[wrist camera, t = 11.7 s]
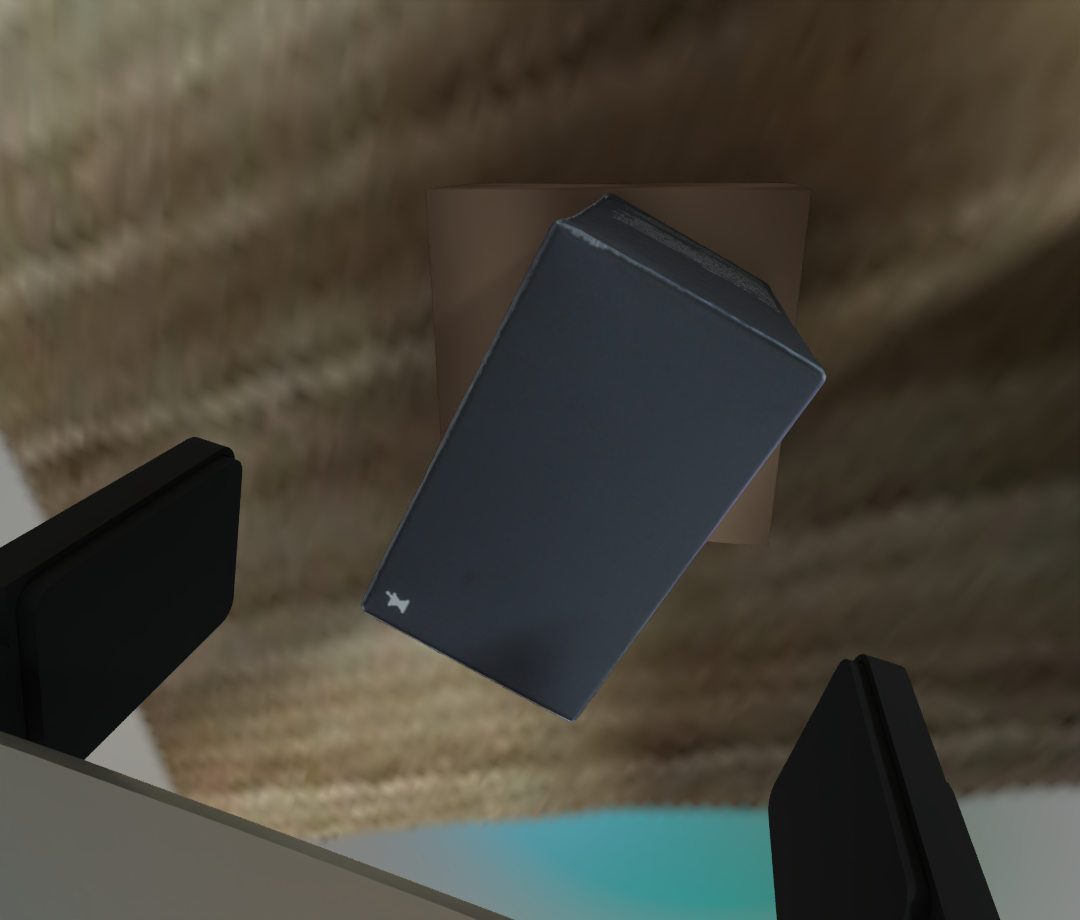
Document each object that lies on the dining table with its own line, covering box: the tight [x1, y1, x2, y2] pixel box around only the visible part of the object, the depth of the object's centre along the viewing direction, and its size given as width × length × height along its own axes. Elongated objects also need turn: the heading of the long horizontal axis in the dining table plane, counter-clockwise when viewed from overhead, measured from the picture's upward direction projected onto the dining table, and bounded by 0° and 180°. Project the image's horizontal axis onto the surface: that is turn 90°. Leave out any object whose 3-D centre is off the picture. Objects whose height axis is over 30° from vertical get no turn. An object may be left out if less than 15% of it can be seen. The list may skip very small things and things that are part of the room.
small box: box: [361, 193, 826, 722], centre depth 21 cm, size 11×6×10 cm, turn 152°
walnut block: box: [426, 183, 812, 546], centre depth 28 cm, size 12×12×6 cm
